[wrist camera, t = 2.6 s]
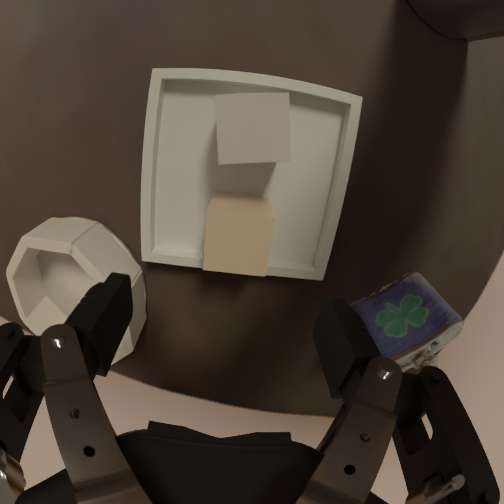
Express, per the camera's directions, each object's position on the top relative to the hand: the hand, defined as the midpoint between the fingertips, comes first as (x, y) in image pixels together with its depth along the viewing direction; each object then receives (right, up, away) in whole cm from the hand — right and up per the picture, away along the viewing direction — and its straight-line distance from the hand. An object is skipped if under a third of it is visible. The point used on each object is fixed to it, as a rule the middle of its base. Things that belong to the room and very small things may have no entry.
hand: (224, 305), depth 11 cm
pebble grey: (+1, +11, +7) cm, 13 cm away
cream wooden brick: (0, +5, +10) cm, 11 cm away
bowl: (-16, -1, +14) cm, 21 cm away
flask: (+15, -2, +16) cm, 22 cm away
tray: (0, +8, +10) cm, 13 cm away
